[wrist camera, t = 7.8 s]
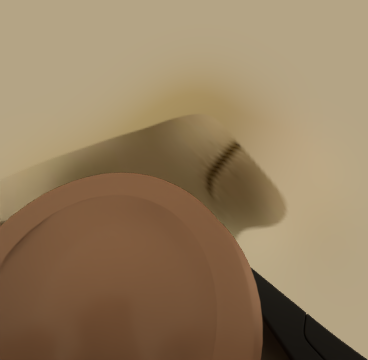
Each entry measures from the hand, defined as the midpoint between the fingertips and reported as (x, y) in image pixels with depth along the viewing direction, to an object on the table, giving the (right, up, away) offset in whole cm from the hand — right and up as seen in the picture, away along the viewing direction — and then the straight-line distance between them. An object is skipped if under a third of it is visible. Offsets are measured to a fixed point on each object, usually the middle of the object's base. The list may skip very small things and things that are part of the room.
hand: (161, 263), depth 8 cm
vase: (0, -4, +4) cm, 6 cm away
